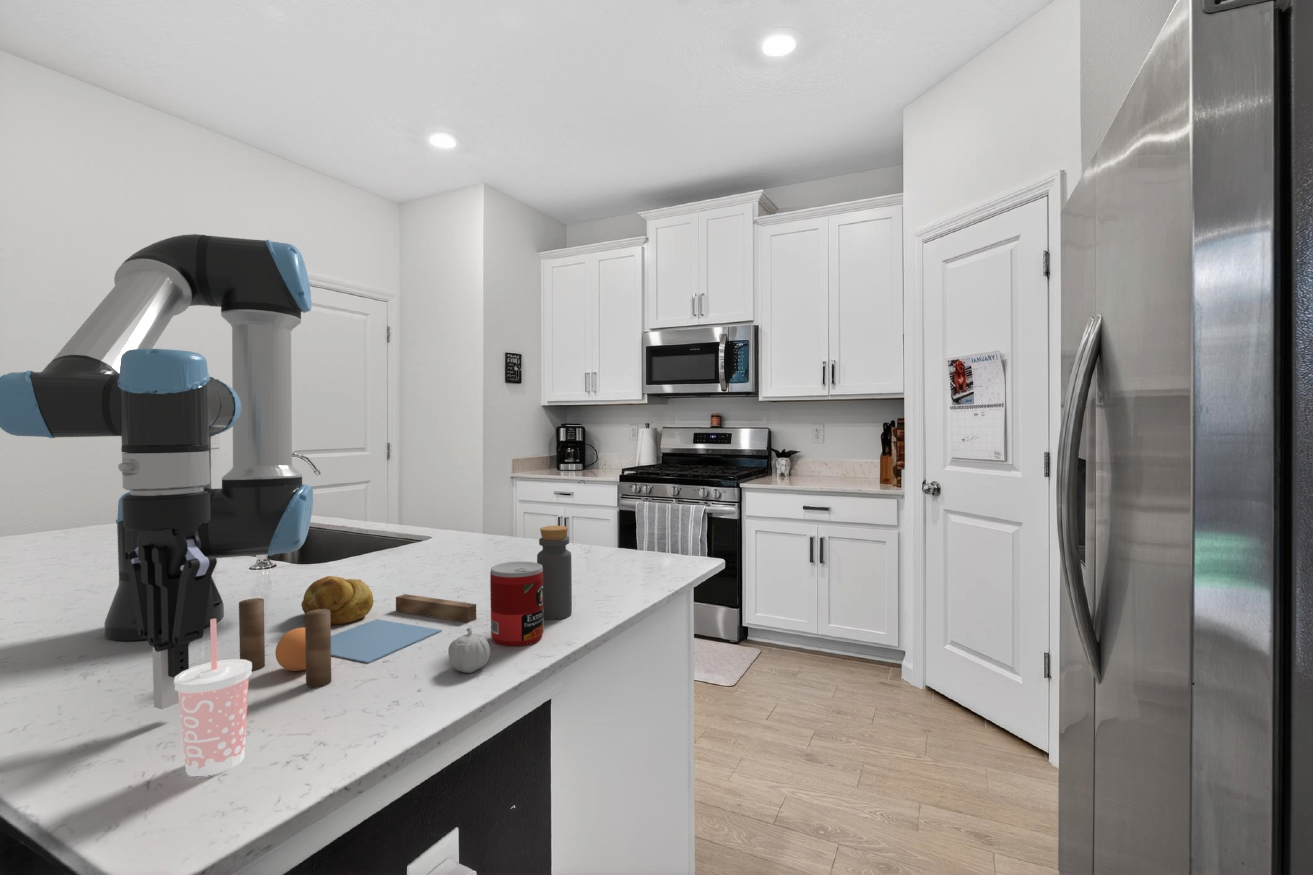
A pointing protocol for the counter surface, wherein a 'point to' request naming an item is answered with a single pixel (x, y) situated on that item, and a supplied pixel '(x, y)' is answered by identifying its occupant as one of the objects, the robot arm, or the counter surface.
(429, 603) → the bar
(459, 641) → the garlic
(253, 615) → the left post
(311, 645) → the right post
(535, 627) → the canned food
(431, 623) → the counter surface
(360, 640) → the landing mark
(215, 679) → the beverage cup
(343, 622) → the bread roll
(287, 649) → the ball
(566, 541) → the bottle
